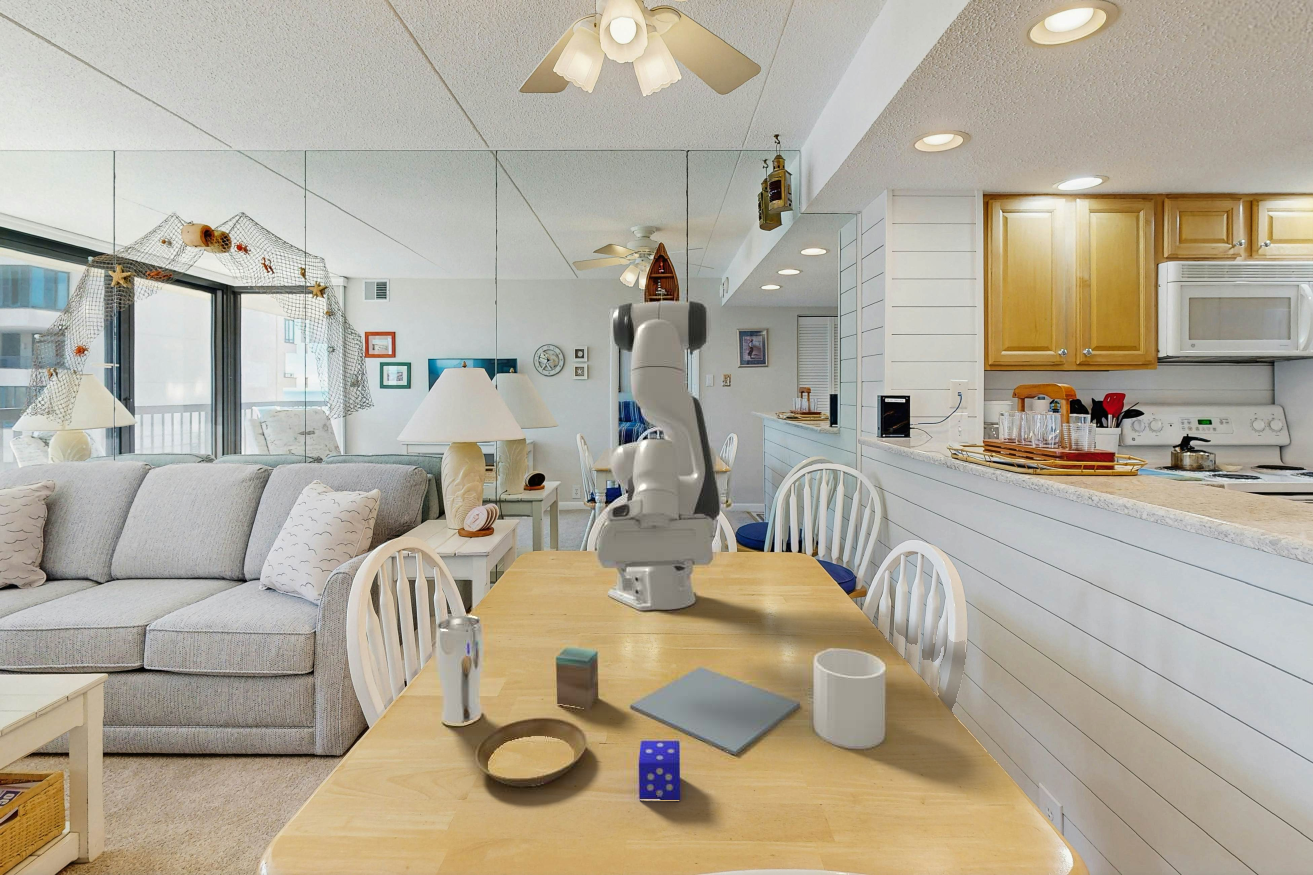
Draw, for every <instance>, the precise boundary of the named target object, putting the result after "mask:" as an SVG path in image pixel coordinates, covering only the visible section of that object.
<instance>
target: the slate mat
mask: <svg viewBox="0 0 1313 875" xmlns="http://www.w3.org/2000/svg"><path fill="white" fill-rule="evenodd" d="M629 707H630V709H631V710H633V711H636V712H637V713H640V714H641V715H644V716H646V715H647V717H648V718H651V719H652V720H655V721H657V720H658V721H657V722H660V723H662V724H665V725H667V726H668V725H669V727H671V728H673V729H674V730H675V729H676V730H678V731H679V732H682V733H684V734H687V735H688V736H690V735H691V736H690V737H692V736H693V738H695V739H697V738H698V739H697V740H699V739H700V740H699V741H701V740H702V742H703V741H705V742H704V743H706V742H707V743H706V744H708V743H710V744H712V745H714V746H716V747H715V748H717V747H718V748H717V749H719V748H721V749H723V750H725V751H728V752H729V753H728V752H727V753H728V754H730V753H731V754H730V755H732V754H734V755H735V756H737V755H738V754H739V753H741V752H742V751H743V750H744V749H746V748H747V747H748V746H749V745H751V744H752V743H753V742H755V741H756V740H757V739H759V738H760V737H761V736H763V735H764V734H766V732H768V731H769V730H771V729H772V728H773V727H774V726H776V725H777V724H779V723H780V722H781V721H782V720H783V719H785V718H786V717H788V716H789V715H790V714H792V713H793V712H794V711H795V710H797V709H798V708H799V707H801V702H799V701H798V700H795V699H791V698H789V697H785V696H783V695H780V694H777V693H774V692H772V691H768V690H767V689H764V688H761V687H758V686H755V685H752V684H750V683H747V682H744V681H741V680H737V679H735V678H733V677H729V676H727V675H724V674H721V673H718V672H715V671H713V670H710V669H708V668H707V669H706V668H704V667H701V666H699V667H697V668H696V669H693V670H692V671H690V672H688V673H686V674H685V675H683V676H681V677H678V678H677V679H675V680H673V681H672V682H670V683H667V684H666V685H663V686H662V687H661V688H658V689H657V690H655V691H653V692H651V693H649V694H647V695H646V696H643V697H642V698H640V699H638V700H636V701H634V702H633V703H630V705H629ZM710 744H709V745H710ZM712 745H711V746H712ZM714 746H713V747H714ZM745 747H746V748H745ZM721 749H720V750H721ZM742 749H743V750H742ZM723 750H722V751H723ZM741 750H742V751H741ZM725 751H724V752H725ZM738 752H739V753H738ZM737 753H738V754H737ZM734 755H733V756H734Z"/></svg>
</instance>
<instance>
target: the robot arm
mask: <svg viewBox="0 0 1313 875" xmlns="http://www.w3.org/2000/svg"><path fill="white" fill-rule="evenodd" d="M711 326H712V323H711V318H710V314H709V313H708V311H707V307H706V306H705V305H704V304H703V303H702V302H698V301H691V300H689V301H688V302H687V301H678V300H660V301H649V302H639V303H634V304H633V303H625V304H621V305H618V307H617V308H616V309H615V310H614V312H613V315H612V319H611V322H610V332H611V335H612V339H613V342H614V344H615V346H617V347H618V348H619V349H620V350H622V351H626V352H628V353H631V358H630V389H631V397H632V398H633V400H634V402H635V403H636V405H637V406H638V407H639V408H640V412H641V416H642V417H643V419H644V420H646V421H647V422H648V423H650V424H652V425H653V426H655V427H657V428H660V429H661V430H662V432H663V435H664V436H663V437H662V438H659V437H657V438H655V437H653V438H646V439H643V440H641V441H640V440H639V441H634V442H629V443H626V444H621V445H619V446H618V447H616V449H615V450H614V452H613V454H612V456H611V459H610V469H611V473H612V476H613V478H614V479H615V480H616V482H617V483H618V484H619V485H620V486H621V487H623V488H625V489H626V490H627V496H626V497H627V498H626V502H624V503H622V504H619V505H616V506H615V505H614V506H612V507H610V508H608V509H607V510H606V515H605V516H606V522H605V524H604V525H603V526H602V527H601V531H600V534H599V538H598V543H597V545H598V546H597V550H596V551H597V553H596V556H597V557H596V558H597V561H598V562H599V564H600V566H602V568H604V569H616V570H617V573H618V575H617V582H616V584H617V585H615V586H614V587H612V588H610V589H609V590H608V592H607V596H608V595H609V596H608V597H609V598H611V599H614V600H616V601H619V602H620V603H623V604H624V605H627V606H629V607H631V608H633V609H636V610H638V611H651V610H652V611H653V610H654V611H655V610H662V611H663V610H667V611H669V610H679V609H683V608H686V607H688V606H691V605H693V604H695V602H696V597H695V596H696V595H695V593H694V590H693V583H692V577H691V575H692V574H693V572H694V566H707V565H710V564H711V563H712V561H713V560H714V553H713V546H712V543H713V542H712V538H711V536H712V535H713V533H714V531H715V529H714V527H715V526H714V521H715V520H716V519H717V518H718V516H719V515H720V513H721V508H722V497H721V492H720V488H719V485H718V483H717V480H716V475H715V470H716V467H717V457H716V453H715V451H714V449H713V447H712V446H711V445H710V444H709V437H708V436H709V435H708V431H707V426H706V422H705V418H704V412H703V409H702V406H701V403H700V401H699V398H697V397H695V396H694V395H692V394H691V393H690V391H689V389H688V382H687V381H688V378H687V377H688V376H687V363H686V357H685V351H684V350H689V355H690V356H692V355H694V352H695V351H697V350H700V349H701V348H702V347H703V346H704V345H705V344H706V343H707V340H708V338H709V336H710V332H711Z"/></svg>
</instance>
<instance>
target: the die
mask: <svg viewBox="0 0 1313 875" xmlns="http://www.w3.org/2000/svg"><path fill="white" fill-rule="evenodd" d="M680 744H681V743H680V741H679V740H641V741H640V745H639V746H640V747H639V757H638V800H639V799H660V800H680V801H681V761H680V760H681V754H680V753H681V752H680V749H681V748H680V746H681V745H680Z"/></svg>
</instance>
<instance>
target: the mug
mask: <svg viewBox="0 0 1313 875" xmlns="http://www.w3.org/2000/svg"><path fill="white" fill-rule="evenodd" d="M886 671H887V670H886V664H885V663H884V661H883V660H881V659H880V658H879V657H878V656H875V655H873V654H871V653H868V652H864V651H861V650H857V649H856V650H855V649H850V648H849V649H848V648H836V647H829V648H828V647H827V648H826V650H825V649H824V650H821V651H820V652H818V653H816V654H815V655H814V656H813V729H814V731H815V733H816V734H817V735H818V736H819V737H820V738H821V739H822V740H824V741H826V742H827V743H828V744H832V745H833V746H835V747H840V748H843V749H849V750H866V749H867V748H868V749H872V747H873V748H874V747H877V746H879V745H880V744H881V743H882V742H883V741H884V739H885V736H886ZM868 749H867V750H868Z"/></svg>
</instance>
